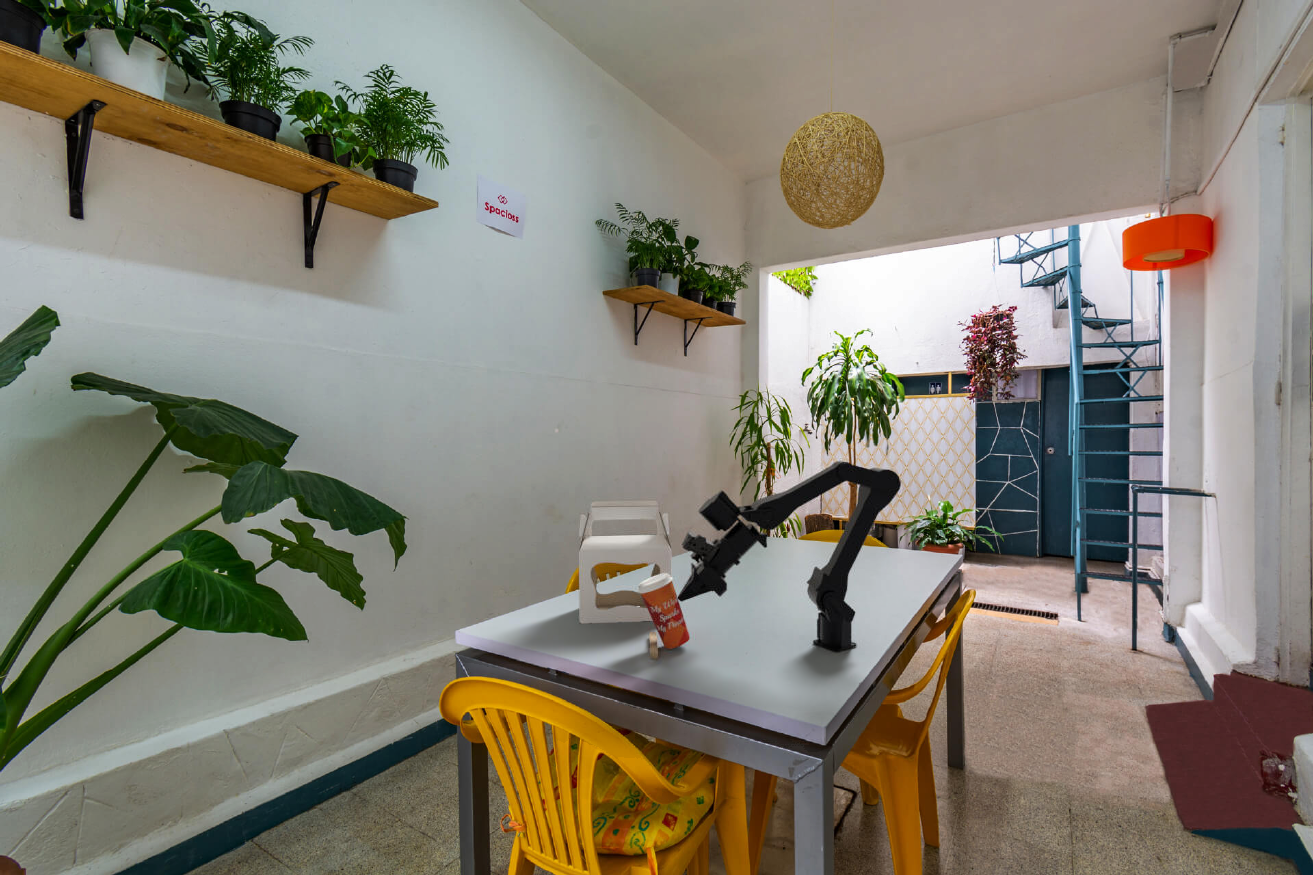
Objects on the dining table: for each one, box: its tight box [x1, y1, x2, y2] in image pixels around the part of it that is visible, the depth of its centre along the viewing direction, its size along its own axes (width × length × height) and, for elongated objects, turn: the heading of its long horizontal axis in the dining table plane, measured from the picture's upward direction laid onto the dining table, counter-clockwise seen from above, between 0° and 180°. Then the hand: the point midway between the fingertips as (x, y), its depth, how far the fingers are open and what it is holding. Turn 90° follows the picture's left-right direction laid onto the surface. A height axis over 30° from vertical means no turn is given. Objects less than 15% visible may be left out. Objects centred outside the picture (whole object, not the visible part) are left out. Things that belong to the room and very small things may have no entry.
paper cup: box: [638, 573, 691, 650], centre depth 125 cm, size 8×8×14 cm
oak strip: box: [648, 631, 659, 660], centre depth 125 cm, size 12×2×1 cm, turn 2°
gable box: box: [578, 499, 672, 625], centre depth 148 cm, size 22×13×28 cm, turn 95°
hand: (679, 599), depth 125 cm, fingers closed
